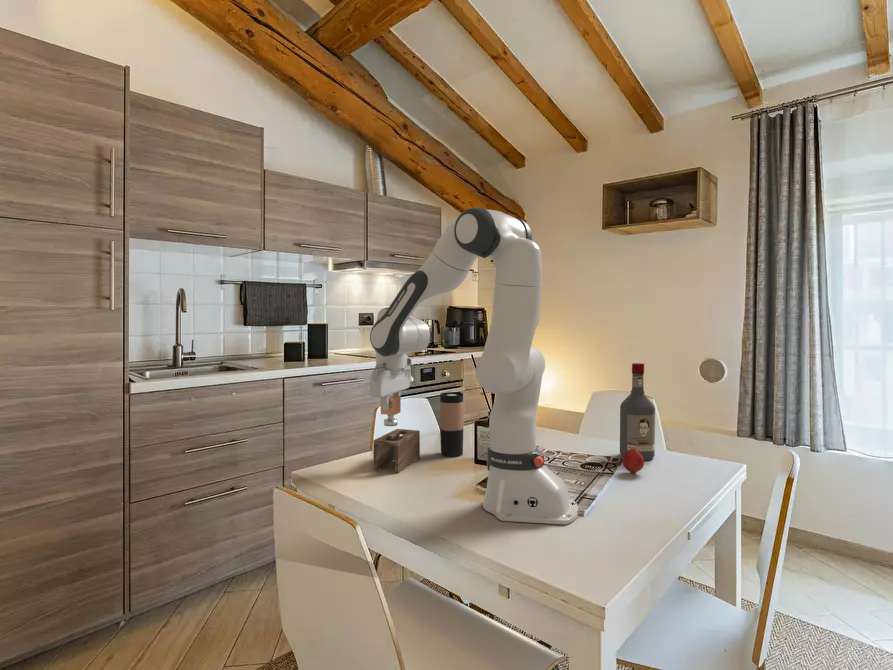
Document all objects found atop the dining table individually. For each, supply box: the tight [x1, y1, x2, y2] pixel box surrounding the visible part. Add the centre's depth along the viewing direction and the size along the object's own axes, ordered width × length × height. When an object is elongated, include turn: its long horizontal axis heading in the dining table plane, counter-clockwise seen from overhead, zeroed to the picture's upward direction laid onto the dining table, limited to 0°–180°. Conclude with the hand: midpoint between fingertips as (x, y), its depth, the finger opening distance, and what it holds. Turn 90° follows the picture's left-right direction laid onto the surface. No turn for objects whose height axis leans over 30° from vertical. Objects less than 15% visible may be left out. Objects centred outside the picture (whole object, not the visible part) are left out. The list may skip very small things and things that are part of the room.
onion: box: [621, 447, 645, 475], centre depth 150 cm, size 6×6×8 cm
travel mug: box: [439, 391, 464, 458], centre depth 171 cm, size 8×8×20 cm
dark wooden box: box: [372, 428, 421, 474], centre depth 160 cm, size 8×16×9 cm, turn 160°
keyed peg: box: [380, 394, 402, 427], centre depth 156 cm, size 4×4×8 cm
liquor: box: [619, 362, 656, 461], centre depth 167 cm, size 9×9×30 cm
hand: (390, 407), depth 156 cm, fingers closed on keyed peg, 4 cm apart
